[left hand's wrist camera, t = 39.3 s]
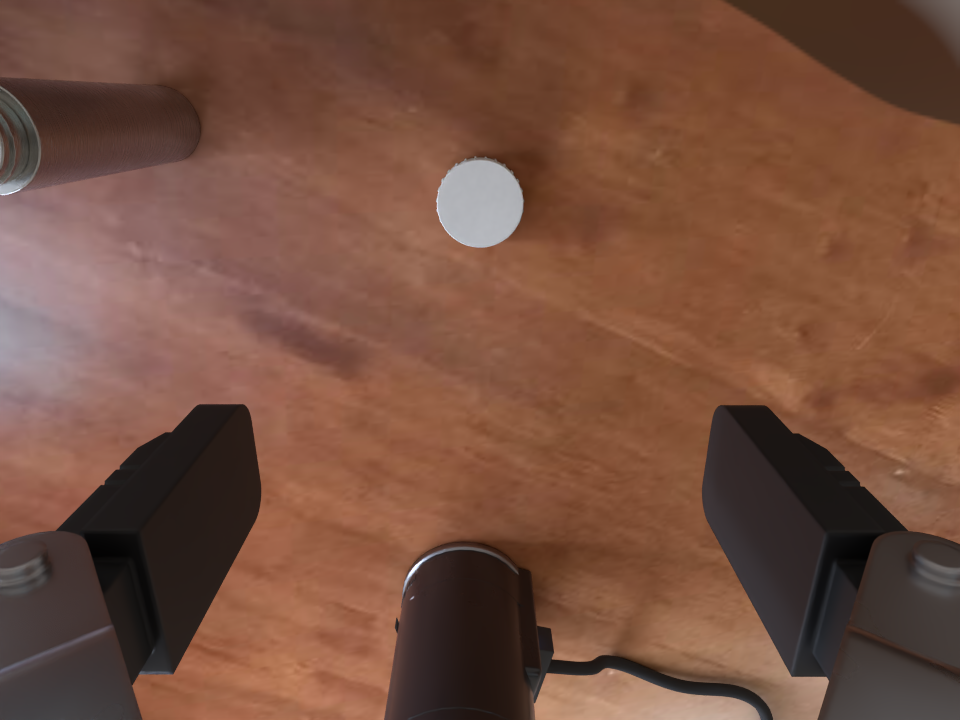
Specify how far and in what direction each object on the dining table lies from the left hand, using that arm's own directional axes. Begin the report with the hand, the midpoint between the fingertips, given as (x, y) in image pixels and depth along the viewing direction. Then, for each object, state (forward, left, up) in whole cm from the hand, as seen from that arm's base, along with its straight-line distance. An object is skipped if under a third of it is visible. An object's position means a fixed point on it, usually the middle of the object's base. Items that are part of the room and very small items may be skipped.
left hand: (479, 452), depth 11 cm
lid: (0, 0, -29) cm, 29 cm away
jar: (+19, 0, -30) cm, 35 cm away
